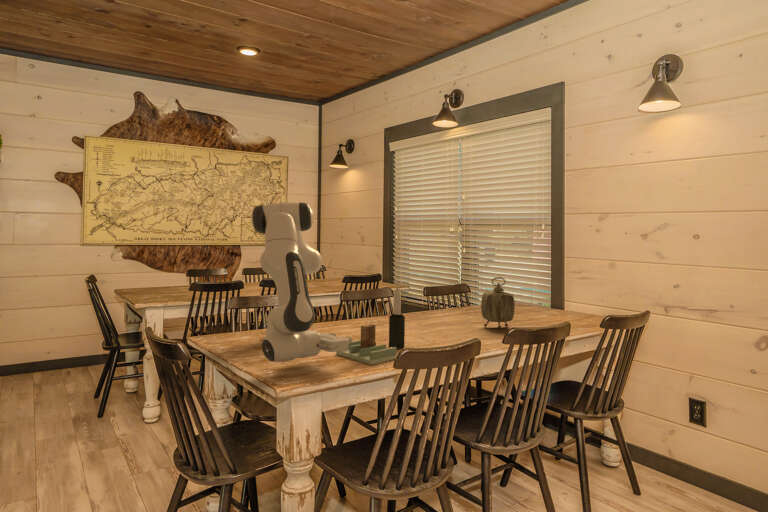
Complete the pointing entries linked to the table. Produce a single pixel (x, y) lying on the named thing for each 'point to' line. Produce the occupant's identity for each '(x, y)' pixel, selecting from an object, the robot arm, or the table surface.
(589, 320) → the table surface
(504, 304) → the tabletop clock
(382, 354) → the rack
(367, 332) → the block
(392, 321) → the candle
